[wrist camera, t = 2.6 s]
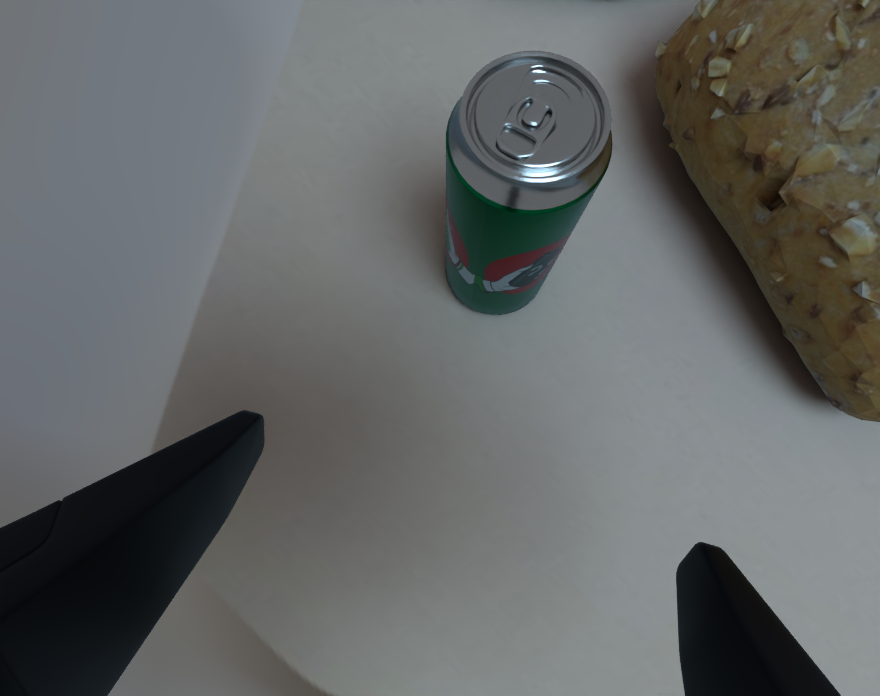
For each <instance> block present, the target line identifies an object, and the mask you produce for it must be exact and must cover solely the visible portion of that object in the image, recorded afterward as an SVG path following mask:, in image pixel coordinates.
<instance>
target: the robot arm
mask: <svg viewBox="0 0 880 696" xmlns="http://www.w3.org/2000/svg"><path fill="white" fill-rule="evenodd" d="M263 448H264V418H263V416H262V415H260V414H258V413H254V412H251V411H247V410H243V411H240V412H237V413H235V414H233V415H231V416H229V417H227V418H225V419H223V420H221V421H219V422H217V423H215V424H213V425H211V426H209V427H207V428H205V429H203V430H201V431H199V432H197V433H195V434H193V435H191V436H189V437H187V438H185V439H183V440H180V441H178V442H176V443H174V444H172V445H170V446H168V447H166V448H164V449H162V450H160V451H158V452H156V453H154V454H152V455H150V456H148V457H146V458H144V459H142V460H140V461H138V462H136V463H134V464H132V465H130V466H128V467H126V468H123V469H121V470H119V471H117V472H115V473H113V474H111V475H109V476H107V477H105V478H103V479H101V480H99V481H97V482H95V483H93V484H91V485H89V486H87V487H85V488H83V489H81V490H79V491H77V492H75V493H73V494H70V495H69V496H66V497H64V498H63V500H62V501H60V500H59V501H56V502H54V503H52V504H50V505H48V506H46V507H44V508H42V509H40V510H38V511H36V512H33V513H31V514H29V515H27V516H25V517H23V518H21V519H19V520H16V521H14V522H12V523H10V524H8V525H6V526H4V527H1V528H0V696H107V695H108V694H109V693H110V691H111V690H112V688H113V687H114V685H115V684H116V682H117V681H118V679H119V678H120V676H121V675H122V673H123V672H124V670H125V669H126V667H127V666H128V664H129V663H130V661H131V660H132V658H133V657H134V655H135V654H136V653H137V651H138V649H139V648H140V646H141V645H142V644H143V642H144V641H145V639H146V638H147V636H148V635H149V633H150V632H151V630H152V629H153V627H154V626H155V624H156V623H157V621H158V620H159V618H160V617H161V616H162V614H163V612H164V611H165V610H166V608H167V607H168V605H169V604H170V602H171V601H172V599H173V598H174V596H175V595H176V593H177V592H178V590H179V589H180V587H181V586H182V584H183V583H184V581H185V580H186V579H187V577H188V575H189V574H190V573H191V571H192V570H193V568H194V567H195V565H196V564H197V562H198V561H199V559H200V558H201V556H202V555H203V553H204V552H205V550H206V549H207V547H208V546H209V544H210V543H211V542H212V540H213V539H214V537H215V536H216V534H217V533H218V531H219V530H220V528H221V527H222V525H223V524H224V522H225V520H226V519H227V517H228V515H229V514H230V512H231V510H232V508H233V506H234V505H235V503H236V501H237V499H238V497H239V495H240V493H241V491H242V489H243V488H244V486H245V484H246V482H247V480H248V478H249V476H250V474H251V472H252V470H253V469H254V467H255V465H256V463H257V461H258V459H259V457H260V455H261V453H262V451H263ZM676 585H677V611H678V636H679V653H680V663H681V671H682V678H683V684H684V691H685V696H841V695H840V694H839V693H838V691H837V690H836V689H835V688H834V686H833V685H832V684H831V683H830V681H829V680H828V679H827V678H826V676H825V675H824V674H823V673H822V671H821V670H820V669H819V668H818V666H817V665H816V664H815V663H814V662H813V660H812V659H811V658H810V657H809V655H808V654H807V653H806V652H805V650H804V649H803V648H802V647H801V645H800V644H799V643H798V642H797V640H796V639H795V638H794V637H793V636H792V634H791V633H790V632H789V631H788V629H787V628H786V627H785V626H784V624H783V623H782V622H781V621H780V619H779V618H778V617H777V616H776V614H775V613H774V612H773V611H772V609H771V608H770V607H769V606H768V605H767V603H766V602H765V601H764V600H763V598H762V597H761V596H760V595H759V593H758V592H757V591H756V590H755V588H754V587H753V586H752V585H751V583H750V582H749V581H748V580H747V579H746V577H745V576H744V575H743V574H742V572H741V571H740V570H739V569H738V567H737V566H736V565H735V564H734V562H733V561H732V560H731V559H730V557H729V556H728V555H727V554H726V553H725V551H724V550H722V549H721V548H719V547H717V546H714V545H710V544H707V543H703V542H699V543H697V544H695V545H694V546H693V548H692V549H691V550H690V551H689V553H688V554H687V555H686V556H685V558H684V559H683V560H682V561H681V563H680V564H679V566H678V568H677V573H676Z"/></svg>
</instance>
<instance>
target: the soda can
mask: <svg viewBox="0 0 880 696" xmlns="http://www.w3.org/2000/svg"><path fill="white" fill-rule="evenodd" d="M610 128H611V110H610V106H609V102H608V98H607V96H606V94H605V92H604V90H603V88H602V87H601V85H600V84H599V82H598V81H597V80H596V79H595V77H594V76H593V75H592V74H591V73H590V72H589V71H587V70H586V69H585V68H584V67H582V66H581V65H579V64H578V63H576V62H574V61H573V60H571V59H568V58H566V57H563V56H561V55H557V54H554V53H550V52H542V51H523V52H516V53H512V54H509V55H505V56H503V57H500V58H498V59H496V60H494V61H492V62H491V63H489V64H487V65H486V66H484V67H483V68H482V69H481V70H480V71H479V72H478V73H477V74H476V75H475V76H474V77H473V78H472V80H471V81H470V82H469V84H468V86H467V88H466V89H465V91H464V94H463V96H462V97H461V98H460V100H459V101H458V102H457V104H456V106H455V107H454V109H453V111H452V113H451V116H450V118H449V121H448V125H447V131H446V276H447V280H448V283H449V286H450V287H451V289H452V291H453V293H454V294H455V295H456V297H457V298H458V299H459V300H460V301H461V302H462V303H463V304H465V305H466V306H468V307H469V308H471V309H473V310H475V311H478V312H481V313H484V314H491V315H501V314H508V313H511V312H514V311H517V310H519V309H521V308H523V307H524V306H525V305H527V304H528V303H529V302H530V301H531V300H532V299H533V298H534V297H535V296H536V294H537V293H538V291H539V290H540V288H541V286H542V284H543V283H544V281H545V279H546V277H547V276H548V274H549V272H550V270H551V268H552V267H553V265H554V263H555V261H556V260H557V258H558V256H559V254H560V253H561V251H562V249H563V247H564V245H565V244H566V242H567V240H568V238H569V237H570V235H571V233H572V231H573V230H574V228H575V226H576V224H577V222H578V221H579V219H580V217H581V215H582V214H583V212H584V210H585V208H586V207H587V205H588V203H589V201H590V200H591V198H592V196H593V194H594V192H595V191H596V189H597V187H598V185H599V184H600V182H601V180H602V178H603V176H604V174H605V172H606V170H607V168H608V165H609V162H610V158H611V153H612V134H611V129H610Z"/></svg>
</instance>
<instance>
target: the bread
mask: <svg viewBox="0 0 880 696" xmlns="http://www.w3.org/2000/svg"><path fill="white" fill-rule="evenodd" d="M655 57H656V59H657V60H658V61H659V62H658V65H657V68H656V76H655V83H656V91H657V96H658V98H659V101H660V104H661V106H662V109H663V112H664V114H665V119H664V123H663V126H664V127H665V128H666V129H667V130H668V131H669V132H670V134H671V137H672V140H673V142H672V143H670V144H669V145H668V146H670V147H671V148H673V149H674V150H676V151H677V152H678V154H679V156H680V158H681V160H682V162H683V164H684V166H685V168H686V171H687V174H688V176H689V177H690V179H691V180H692V181H693V182H694V183H695V185H696V187H697V188H698V190H699V192H700V193H701V195H702V197H703V198H704V200H705V202H706V203H707V205H708V206H709V208H710V209H711V210H712V212H713V213H714V215H715V216H716V218H717V219H718V221H719V222H720V224H721V225H722V226H723V228H724V229H725V231H726V232H727V233H728V235H729V236H730V238H731V239H732V241H733V242H734V244H735V245H736V247H737V248H738V250H739V251H740V253H741V255H742V256H743V258H744V259H745V261H746V263H747V264H748V266H749V268H750V270H751V272H752V274H753V275H754V277H755V279H756V281H757V283H758V285H759V287H760V289H761V291H762V292H763V294H764V296H765V298H766V299H767V301H768V303H769V305H770V307H771V308H772V310H773V312H774V313H775V315H776V317H777V318H778V320H779V321H780V323H781V325H782V326H783V335H784V336H785V337H786V338H787V339H788V340H789V341H790V342H791V343H792V344H793V345H794V347H795V349H796V351H797V352H798V354H799V356H800V357H801V359H802V361H803V362H804V364H805V366H806V367H807V369H808V370H809V372H810V373H811V374H812V376H813V377H814V379H815V380H816V381H817V383H818V384H819V386H820V387H821V388H822V390H823V391H824V393H825V394H826V396H827V397H828V399H829V400H830V402H831V403H832V405H833V406H835V407H836V408H838V409H840V410H841V411H843V412H845V413H846V414H848V415H851V416H853V417H856V418H859V419H861V420H868V421H876V422H880V0H701V1H700V2H699V3H698V4H697V6H696V7H695V10H694V13H693V14H691V15H690V16H689V17H688V19H687V20H686V21H685V22H684V23H683V24H682V26H681V27H680V28H679V29H678V30H677V31H676V33H675V34H674V35H673V36H672V37H671V38H670V40H669V41H668V42H667V43H666V44H664V43H662V42H660V41H659V42H658V46H657V50H656V54H655Z"/></svg>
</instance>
